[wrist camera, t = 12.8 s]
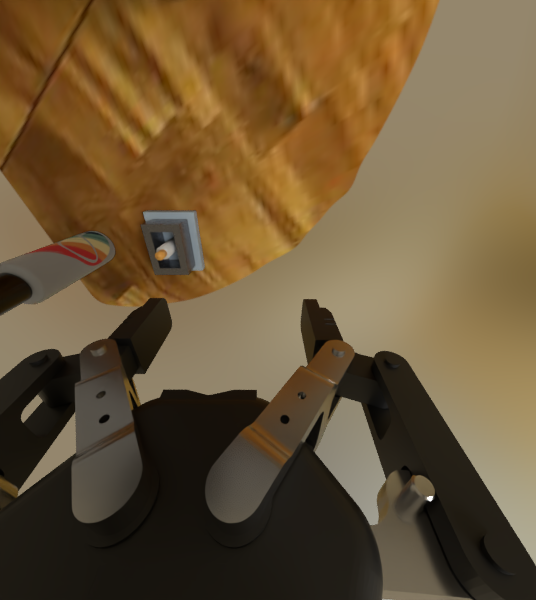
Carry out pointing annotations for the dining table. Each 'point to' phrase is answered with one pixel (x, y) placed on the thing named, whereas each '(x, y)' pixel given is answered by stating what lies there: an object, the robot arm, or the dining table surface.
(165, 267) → the link
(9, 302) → the lotion bottle
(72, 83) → the dining table surface
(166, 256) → the grey base with peg
